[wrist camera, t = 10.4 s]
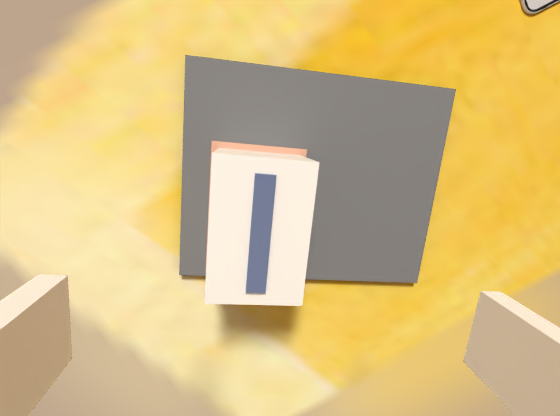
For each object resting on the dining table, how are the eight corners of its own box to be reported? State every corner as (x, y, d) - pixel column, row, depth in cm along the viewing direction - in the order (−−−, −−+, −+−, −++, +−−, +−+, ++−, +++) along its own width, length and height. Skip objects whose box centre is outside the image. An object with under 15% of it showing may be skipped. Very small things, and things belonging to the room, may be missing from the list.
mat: (450, 90, 25) (456, 89, 24) (413, 279, 28) (417, 283, 28) (186, 56, 22) (185, 54, 22) (180, 271, 26) (179, 275, 25)
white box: (288, 267, 26) (302, 307, 20) (212, 264, 25) (204, 305, 19) (300, 155, 24) (320, 162, 18) (218, 147, 23) (211, 152, 17)
